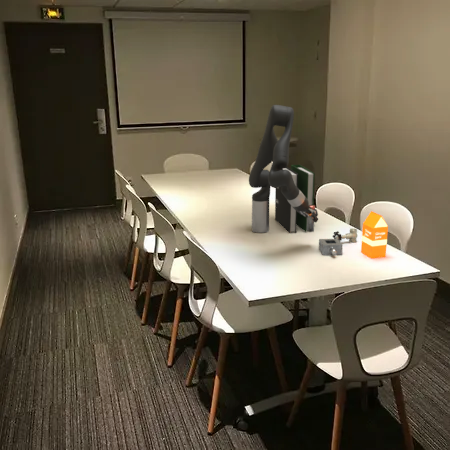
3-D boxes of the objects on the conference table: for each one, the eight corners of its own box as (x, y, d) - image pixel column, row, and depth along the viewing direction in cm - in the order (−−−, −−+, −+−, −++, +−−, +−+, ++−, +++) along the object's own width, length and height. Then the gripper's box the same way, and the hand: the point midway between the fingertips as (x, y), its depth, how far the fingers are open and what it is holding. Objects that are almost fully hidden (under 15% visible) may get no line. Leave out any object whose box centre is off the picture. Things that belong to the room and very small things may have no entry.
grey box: (324, 258, 223) (325, 247, 221) (318, 248, 235) (319, 239, 234) (344, 257, 223) (344, 247, 221) (337, 248, 235) (337, 238, 234)
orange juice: (371, 258, 221) (374, 216, 216) (360, 252, 229) (363, 211, 224) (386, 256, 223) (389, 215, 218) (375, 250, 232) (378, 210, 226)
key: (307, 232, 235) (308, 206, 231) (306, 229, 238) (307, 205, 234) (314, 231, 235) (315, 206, 231) (313, 229, 238) (314, 204, 234)
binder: (313, 231, 261) (316, 173, 252) (287, 233, 259) (288, 174, 250) (298, 218, 287) (299, 164, 278) (273, 219, 285) (274, 165, 276)
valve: (352, 239, 249) (332, 242, 245) (352, 227, 247) (332, 229, 243) (360, 243, 243) (339, 246, 239) (360, 230, 241) (340, 233, 237)
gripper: (312, 196, 221) (328, 216, 232) (290, 190, 231) (306, 210, 242) (304, 209, 219) (320, 229, 230) (282, 203, 230) (298, 222, 241)
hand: (313, 219), depth 236 cm, fingers closed on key, 3 cm apart
